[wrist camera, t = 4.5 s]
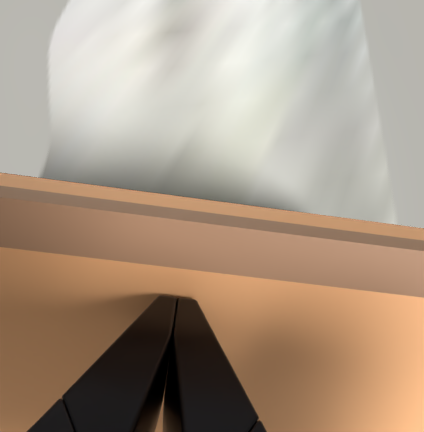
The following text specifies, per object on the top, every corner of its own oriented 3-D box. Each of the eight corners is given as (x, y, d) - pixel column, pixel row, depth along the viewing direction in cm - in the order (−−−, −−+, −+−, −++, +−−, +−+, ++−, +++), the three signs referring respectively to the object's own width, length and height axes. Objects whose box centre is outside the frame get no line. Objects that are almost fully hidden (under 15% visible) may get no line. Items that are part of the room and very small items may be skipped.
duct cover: (411, 476, 12) (437, 528, 10) (-136, 429, 10) (-185, 479, 9) (523, 241, 9) (579, 271, 7) (-206, 145, 8) (-290, 159, 6)
